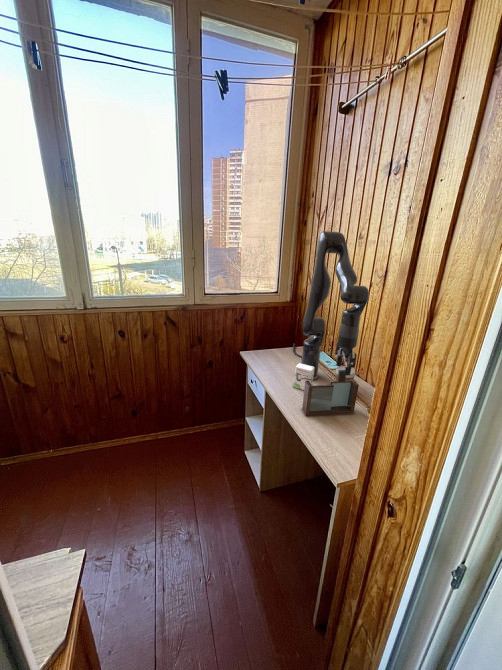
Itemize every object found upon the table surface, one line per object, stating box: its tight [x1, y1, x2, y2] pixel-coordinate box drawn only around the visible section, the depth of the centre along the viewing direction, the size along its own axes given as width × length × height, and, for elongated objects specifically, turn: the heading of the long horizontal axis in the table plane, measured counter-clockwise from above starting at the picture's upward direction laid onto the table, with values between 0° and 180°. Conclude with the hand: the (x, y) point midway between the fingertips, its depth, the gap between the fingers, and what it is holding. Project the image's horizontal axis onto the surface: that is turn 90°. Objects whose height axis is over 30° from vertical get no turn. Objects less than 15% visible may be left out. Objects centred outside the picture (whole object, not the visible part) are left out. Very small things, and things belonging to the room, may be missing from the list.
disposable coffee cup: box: [335, 365, 356, 381], centre depth 145 cm, size 10×10×12 cm
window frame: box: [301, 378, 360, 417], centre depth 127 cm, size 5×22×14 cm, turn 98°
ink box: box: [293, 362, 314, 391], centre depth 147 cm, size 9×5×12 cm, turn 61°
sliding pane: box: [329, 370, 351, 407], centre depth 128 cm, size 1×9×18 cm, turn 97°
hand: (342, 370), depth 125 cm, fingers open, 8 cm apart
